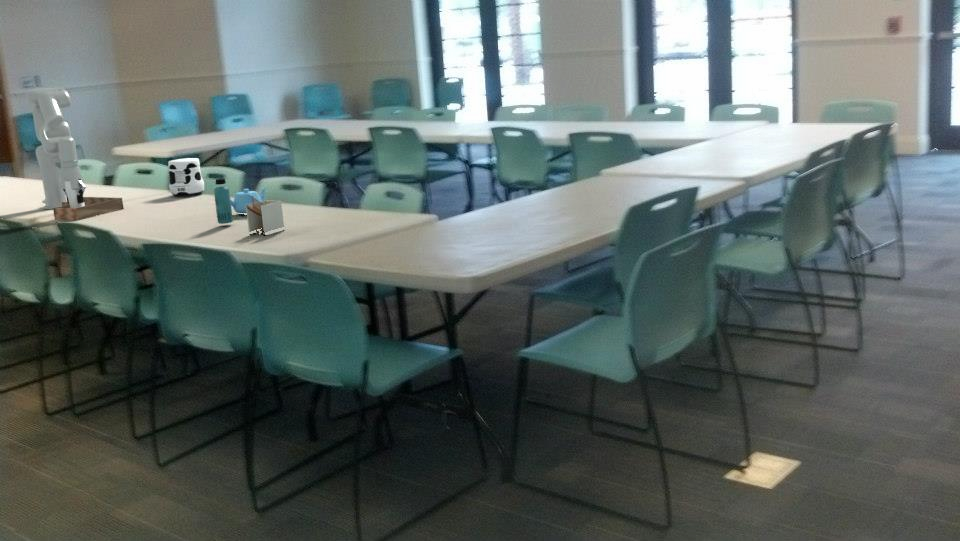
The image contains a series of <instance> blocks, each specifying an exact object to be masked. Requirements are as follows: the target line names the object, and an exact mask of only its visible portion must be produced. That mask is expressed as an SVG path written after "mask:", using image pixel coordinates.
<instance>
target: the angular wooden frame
mask: <svg viewBox="0 0 960 541" xmlns="http://www.w3.org/2000/svg"><path fill="white" fill-rule="evenodd" d="M83 198H84V204H83V205H82V206H83V207H78V208H70V204H69V203H67V202H62V206H60V207H56V208H53V209H52V210H53V215H54V220H55V221H75V222H76V221H81V220H85V219H88V218H93V217H96V215H97V216H101V215H100V214H102V215H105V213H106V214H109V212H110V213H113V212H114V213H115V212H117V211H121V210H125V209H124V202H123V197H109V196H108V197H105V196H103V197H102V196H83Z"/></svg>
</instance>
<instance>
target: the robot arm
mask: <svg viewBox="0 0 960 541" xmlns="http://www.w3.org/2000/svg"><path fill="white" fill-rule="evenodd" d="M25 101H26V104H27V106H28V108H29V109H30V111H31V114H32V118H33V123H34V124H33V125H34V130H35V135H36V138H37V140H38V141H39V142H40V143H41V145H39V146H37V147H36V149H35V157H36V159H37V162H38V165H39V166H38V167H39V168H40V175H41V179H42V186H43V193H44V200H42V201H41V202H42V204H45V205H43V209H44V210H53V208H56V207H60V206H62V202H67V203H69V200H68V196H67V193H66V188H65V181H70V184H71V189H72V190H75V189H76V192H77V194H78V195H77V201H78V204H80V203H82V204H83V203H84V198H83V197H84V193H85V190H86V188H87V185H85V184H84V181H83V175H82V172H81V169H80V166H79V160H78V154H77V148H76V146H77V144H76V141H75V139H74V137H73V136H72V132H71V127H70V125H69V123H68V122H67V121H66V120H65V119H64V114H63V112H62V110H61V109H68V108H71V106H72V99H71V96H70V94H69V92H68V91H67V90H66V89H65V88H63V87H61V86H59V87H57V86H56V87H45V88H44V87H43V88H40V87H39V88H33V89H30V90H28V91H26V92H25ZM57 163H60V167H58V166H57V165H56V164H57ZM78 186H80V188H78ZM79 189H80V191H79Z"/></svg>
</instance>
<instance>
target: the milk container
mask: <svg viewBox="0 0 960 541" xmlns="http://www.w3.org/2000/svg"><path fill="white" fill-rule="evenodd" d="M167 166H168V174H169V185H168V187H169V191H170V194H171V195H173V196H174V197H187V196H188V197H189V196H196V195H199V194H202V193H203V192H204V191H205V182H204V179H203V177H202V172H201V163H200V159H199V158H197V157H195V158H194V157H192V158H191V157H186V158H178V159H177V158H176V159H172V160H169V161H168V163H167Z"/></svg>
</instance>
